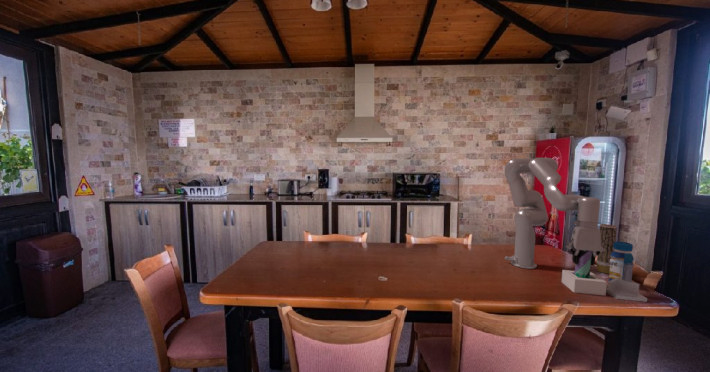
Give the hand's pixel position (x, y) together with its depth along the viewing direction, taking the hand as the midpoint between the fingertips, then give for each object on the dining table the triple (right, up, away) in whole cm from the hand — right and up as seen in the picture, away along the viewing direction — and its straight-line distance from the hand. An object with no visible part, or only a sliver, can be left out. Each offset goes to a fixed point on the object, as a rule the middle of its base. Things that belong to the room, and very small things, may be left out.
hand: (583, 263), depth 135 cm
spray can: (0, -8, +1) cm, 8 cm away
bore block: (0, -11, 0) cm, 12 cm away
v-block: (+13, -12, -7) cm, 19 cm away
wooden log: (+29, -11, +23) cm, 38 cm away
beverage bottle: (+22, -12, +6) cm, 25 cm away
